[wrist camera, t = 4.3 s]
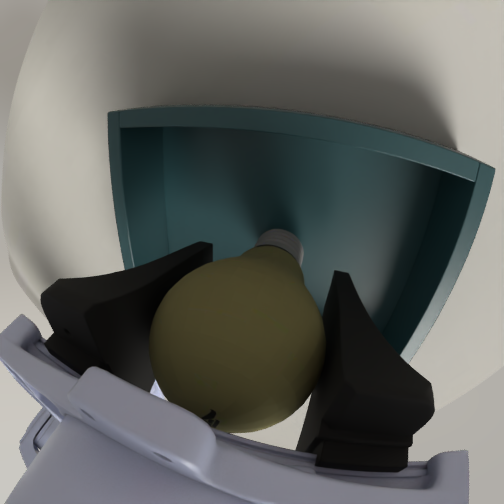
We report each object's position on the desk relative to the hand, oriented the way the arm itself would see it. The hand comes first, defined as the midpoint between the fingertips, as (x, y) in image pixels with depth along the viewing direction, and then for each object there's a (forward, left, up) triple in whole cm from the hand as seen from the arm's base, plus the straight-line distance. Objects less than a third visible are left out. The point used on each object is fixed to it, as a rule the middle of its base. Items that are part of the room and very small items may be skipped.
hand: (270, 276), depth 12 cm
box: (0, 0, -3) cm, 3 cm away
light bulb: (0, 0, -3) cm, 3 cm away
